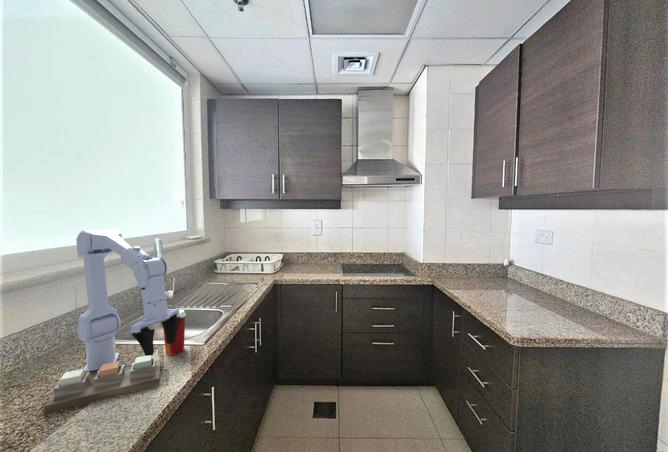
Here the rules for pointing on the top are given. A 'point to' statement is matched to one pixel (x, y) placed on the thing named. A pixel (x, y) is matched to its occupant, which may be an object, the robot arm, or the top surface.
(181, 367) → the top surface
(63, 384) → the cream button
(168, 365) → the top surface
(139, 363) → the sage button
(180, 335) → the paper cup
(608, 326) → the top surface
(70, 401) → the button board
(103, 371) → the terracotta button
